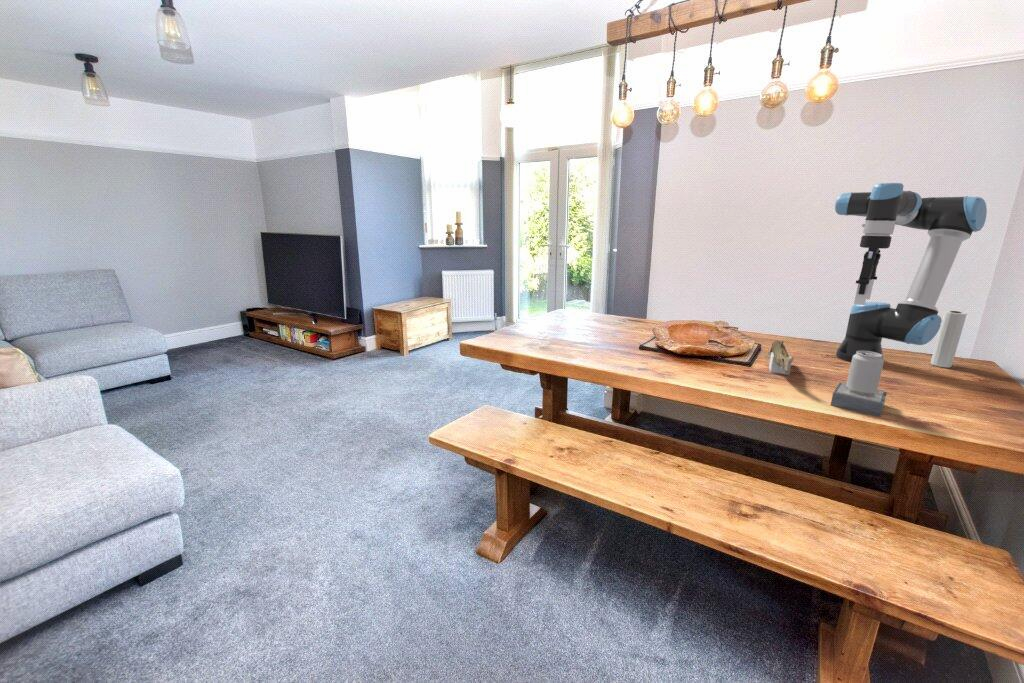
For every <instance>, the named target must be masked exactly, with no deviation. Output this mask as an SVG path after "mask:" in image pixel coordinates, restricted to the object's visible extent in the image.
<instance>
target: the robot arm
mask: <svg viewBox="0 0 1024 683" xmlns="http://www.w3.org/2000/svg"><path fill="white" fill-rule="evenodd" d="M834 210H835V213H836V214H837V215H839V216H854V217H855V216H856V217H857V216H858V217H863V218H864V217H865V221H864V223H862V224H861V227H862V228H863V230H862V234H864V235H862V236H861V237H860V241H859V242H860V243H859V247H861V248H865V249H867V251H865V253H864V254H863V260H862V266H861V271H860V274H859V277H858V279H857V280H855V284H857V288H856V292H855V297H854V302H853V305H852V306H851V310H850V312H849V316H848V321H847V327H846V332H845V337H844V339H843V340H842V342H841V343H840V345H839V347H838V348H837V350H836V352H835V357H836V358H837V359H841V360H843V361H847V362H850V363H851V362H852V357H853V355H855V354H857V353H856V352H857V351H871V352H875V353H879V354H881V355H882V359H883V360H884V353H883V348H882V347H883V346H882V340H883V339H885V340H889V341H890V340H892V341H894V342H895V341H896V342H900V343H904V344H906V345H914V346H915V345H916V346H923V345H926V344H928V343H930V342H931V341H932V340H934V338H935V337H936V336H937V334H938V333H939V330H940V327H941V323H942V320H943V318H942V317H941V316H940V315H938V314H939V310H938V309H937V307H936V306H937V303H938V300H939V298H940V295H941V293H942V290H943V288H944V285H945V284H946V281H947V279H948V276H949V273H950V272H951V269H952V267H953V264H954V262H955V260H956V258H957V255H958V253H959V250H960V248H961V246H962V243H963V242H964V241H966V240H968V239H971V237H972V234H973V232H974V233H976V232H980V231H982V229H983V228H984V226H985V223H986V220H987V212H988V209H987V202H986V200H984V198H982V197H980V196H967V195H966V196H947V197H946V196H944V197H943V196H938V197H935V196H934V197H931V196H930V197H922V196H921V195H920V194H919V193H917V192H915V191H912V190H904V184H903V183H902V182H886V183H885V182H883V183H880V182H879V183H876V184H874V185H873V186H872V188H871V191H869V192H867V191H866V192H863V191H862V192H844V193H841V194H840V195H838V196H837V199H836V201H835V204H834ZM896 225H897V226H902V227H905V228H906V227H907V228H911V229H915V230H923V231H927V234H928V236H929V237H930V238H929V240H928V241H929V242H928V244H927V246H926V249H925V250H924V251H925V252H924V254H923V256H922V258H921V260H920V263H919V265H918V268H917V271H916V273H915V276H914V278H913V280H912V282H911V285H910V287H909V290H908V292H907V294H906V297H905V299H904V300H903V301H900V302H898V303H897V305H896V307H895V308H893V307H891V304H890V303H888V302H876V301H874V302H872V301H871V302H870V301H869V302H868V301H867V300H870V299H871V295H872V291H873V286H874V281H875V280H876V281H877V280H878V276H877V274H876V273H877V269H878V265H879V262H880V259H881V255H882V254H881V249H890V247H891V242H892V236H891V235H893V234H894V230H895V227H896ZM866 301H867V302H866Z"/></svg>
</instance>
